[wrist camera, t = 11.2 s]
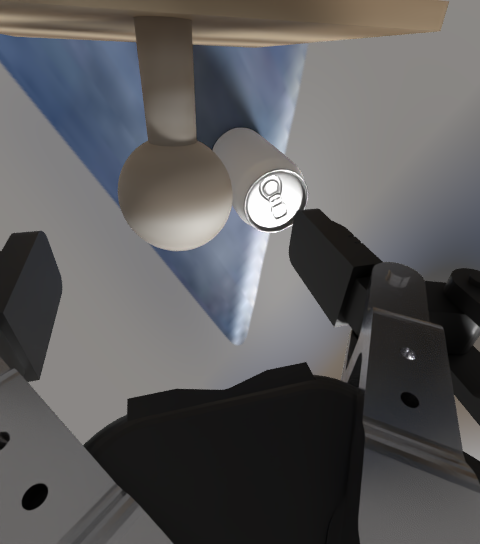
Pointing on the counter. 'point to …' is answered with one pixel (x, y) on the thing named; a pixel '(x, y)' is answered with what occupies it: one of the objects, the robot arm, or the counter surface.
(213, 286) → the counter surface
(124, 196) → the wooden box lid
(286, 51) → the counter surface
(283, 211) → the can
